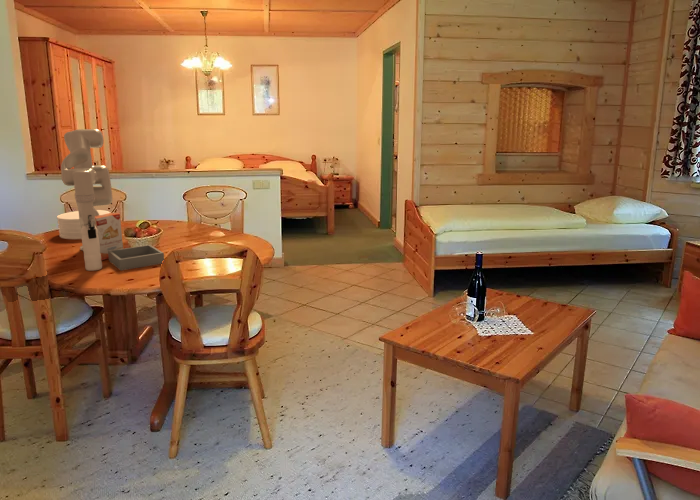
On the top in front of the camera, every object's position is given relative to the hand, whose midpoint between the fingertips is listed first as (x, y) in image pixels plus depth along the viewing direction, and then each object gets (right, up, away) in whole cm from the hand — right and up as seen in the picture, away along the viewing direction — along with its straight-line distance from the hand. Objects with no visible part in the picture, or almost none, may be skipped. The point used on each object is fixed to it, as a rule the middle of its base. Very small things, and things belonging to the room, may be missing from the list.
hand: (90, 236), depth 256 cm
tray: (+15, -12, +15) cm, 24 cm away
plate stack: (-36, +3, +75) cm, 83 cm away
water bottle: (0, -15, +4) cm, 16 cm away
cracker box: (-2, -10, +24) cm, 26 cm away
